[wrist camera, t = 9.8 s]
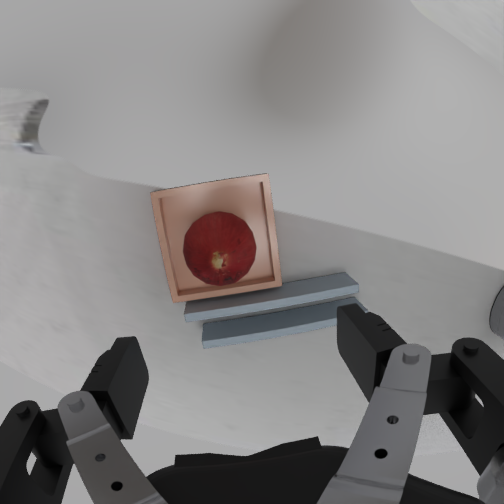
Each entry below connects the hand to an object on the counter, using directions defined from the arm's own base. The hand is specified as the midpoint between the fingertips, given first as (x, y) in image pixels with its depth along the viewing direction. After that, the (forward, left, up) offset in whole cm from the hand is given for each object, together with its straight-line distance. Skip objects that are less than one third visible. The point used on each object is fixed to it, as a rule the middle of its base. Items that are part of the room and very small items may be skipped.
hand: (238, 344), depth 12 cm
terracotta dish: (+1, 0, -18) cm, 18 cm away
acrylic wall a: (-4, +9, -18) cm, 21 cm away
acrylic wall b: (-3, +6, -18) cm, 19 cm away
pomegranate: (+1, 0, -18) cm, 18 cm away
